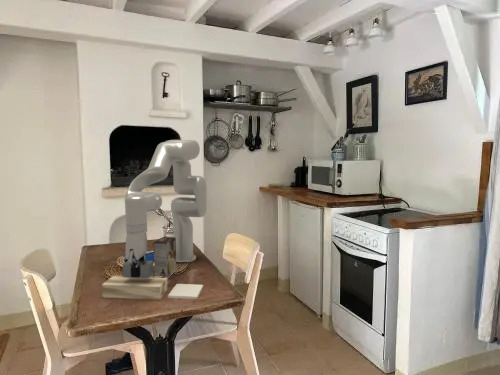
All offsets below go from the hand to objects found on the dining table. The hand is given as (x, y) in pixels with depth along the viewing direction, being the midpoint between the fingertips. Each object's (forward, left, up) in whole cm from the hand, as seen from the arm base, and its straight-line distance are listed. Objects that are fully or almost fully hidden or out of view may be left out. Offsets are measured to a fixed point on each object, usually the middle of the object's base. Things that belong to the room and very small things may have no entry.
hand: (138, 273), depth 129 cm
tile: (-3, +18, -8) cm, 20 cm away
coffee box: (-20, +4, -8) cm, 22 cm away
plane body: (0, -1, -8) cm, 8 cm away
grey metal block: (0, 0, -1) cm, 1 cm away
